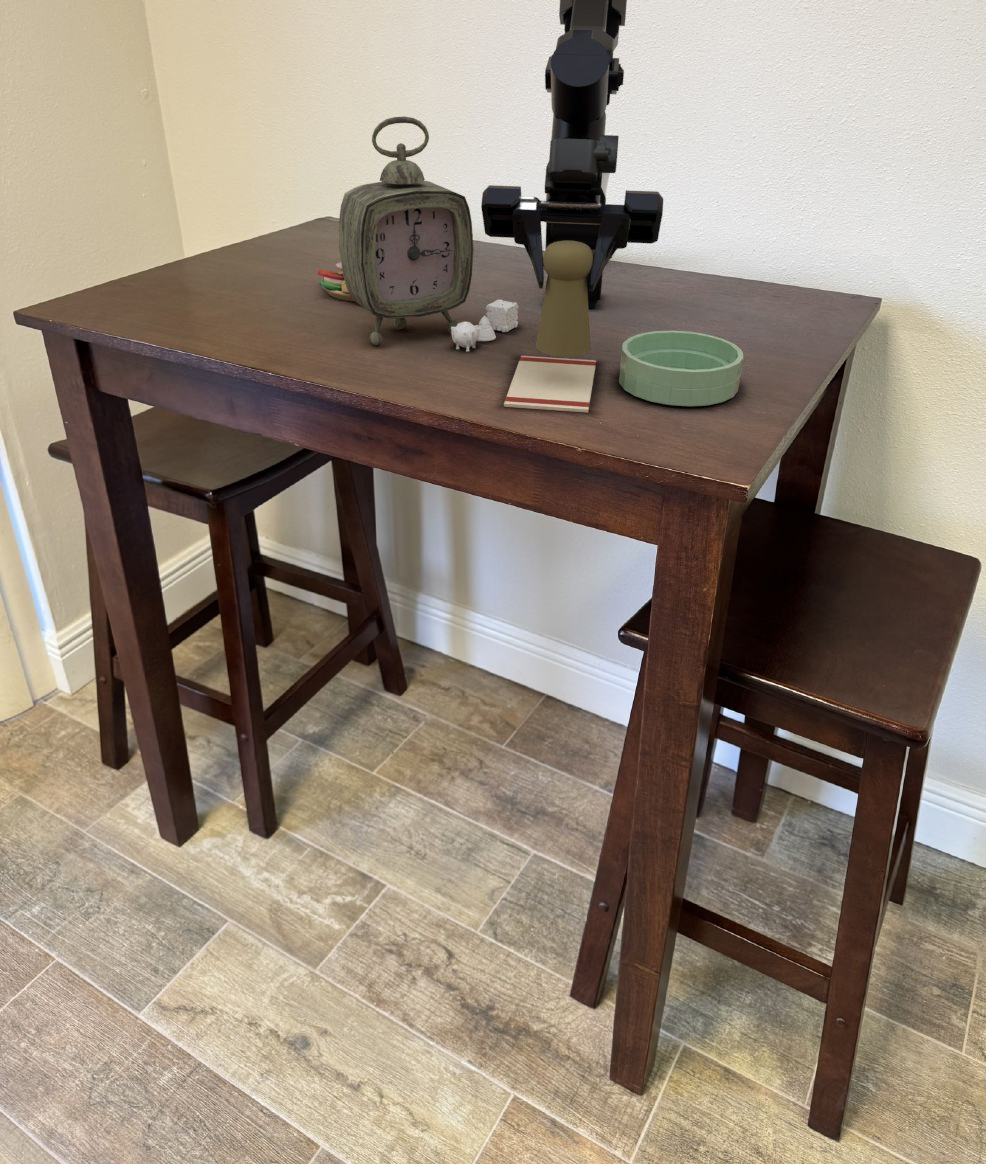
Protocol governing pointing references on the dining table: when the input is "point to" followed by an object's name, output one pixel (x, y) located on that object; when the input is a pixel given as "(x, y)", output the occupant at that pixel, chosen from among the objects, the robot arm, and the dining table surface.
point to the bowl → (680, 368)
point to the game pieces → (487, 324)
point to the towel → (552, 384)
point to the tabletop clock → (405, 241)
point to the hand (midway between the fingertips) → (565, 287)
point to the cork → (565, 300)
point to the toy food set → (335, 283)
